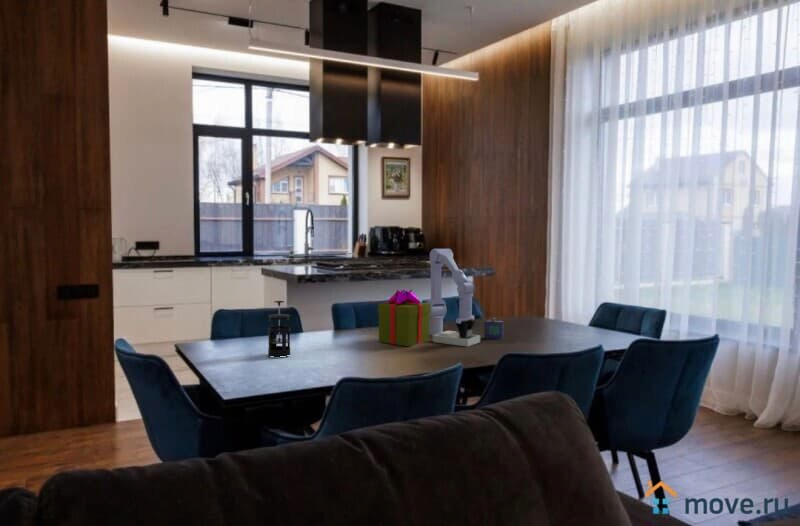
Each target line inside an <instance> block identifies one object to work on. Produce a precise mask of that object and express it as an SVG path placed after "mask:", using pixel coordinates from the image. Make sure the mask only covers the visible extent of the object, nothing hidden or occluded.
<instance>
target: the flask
mask: <svg viewBox="0 0 800 526" xmlns="http://www.w3.org/2000/svg"><path fill="white" fill-rule="evenodd" d="M483 326H484V331H483V333H484V334H483V337H484V339H492V340H495V339H497V340H499V339H501V340H503V339H504V321H503V320H496V317H493V318H492V319H488V320H485V321H484V325H483Z"/></svg>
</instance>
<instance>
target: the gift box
mask: <svg viewBox="0 0 800 526" xmlns="http://www.w3.org/2000/svg"><path fill="white" fill-rule="evenodd" d="M418 298H419V297H417V296H416V295H415V294H414V293H413V289H410V290H409V291H408V290H406V289H405V288H403V290H398V289H396V291H395V293H394V294H393V295H392V296H391V297H390V298H389V299H388V301H385V302H383V301H382V302H381V303H378V304H377V307H378V308H377V313H378V342H379V343H386V344H390V345H393V344H394V345H395V344H398V346H406V347H410V346H414V345H420V344H421V343H424V342H427V341H428V342H429V341H430V335H429V315H430V303H426V302H421V300H419V299H418ZM394 345H393V346H394ZM395 346H396V345H395Z"/></svg>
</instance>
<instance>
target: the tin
mask: <svg viewBox="0 0 800 526" xmlns="http://www.w3.org/2000/svg"><path fill="white" fill-rule="evenodd" d="M458 333H459V332H458ZM472 335H473V328H472V329H469V328H467V329H466V336H465V338H460V333H459V339H470V338H472Z"/></svg>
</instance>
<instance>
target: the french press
mask: <svg viewBox="0 0 800 526" xmlns="http://www.w3.org/2000/svg"><path fill="white" fill-rule="evenodd" d="M273 302H274V303H275V304H276V303H277V306H278V313H276V314H275V313H274V314H268V319H269V321H268V322H271V323H277V322H278V325H270V326H268V327H267V328H268V329H267V330H268V352H267V353H268V354H267V356H268V355H269V356H274V357H280V356H287V355H290V354H291V342H290V341H291V339H290V338H291V336H290V335H291V326H290V325H280V323H281V320H284V321H285V320H287V321H289V322H290V317H291V314H286V313H281V311H280V310H281V309H280V306H281V303H285V301H284V300H275V301H273ZM277 334H278V335H277ZM277 337H278V338H277Z"/></svg>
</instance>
